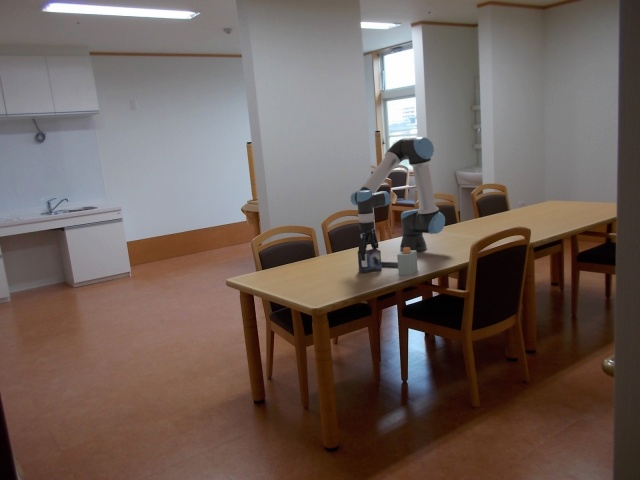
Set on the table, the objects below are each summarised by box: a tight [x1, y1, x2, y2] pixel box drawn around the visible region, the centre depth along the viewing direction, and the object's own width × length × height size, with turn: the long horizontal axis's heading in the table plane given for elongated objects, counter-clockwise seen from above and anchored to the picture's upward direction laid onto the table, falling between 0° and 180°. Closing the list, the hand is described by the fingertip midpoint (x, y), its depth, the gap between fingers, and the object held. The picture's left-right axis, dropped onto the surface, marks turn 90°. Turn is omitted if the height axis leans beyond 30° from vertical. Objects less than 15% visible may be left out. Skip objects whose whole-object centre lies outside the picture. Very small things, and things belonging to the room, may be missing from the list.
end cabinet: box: [396, 250, 419, 276], centre depth 266 cm, size 10×6×10 cm, turn 149°
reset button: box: [402, 247, 411, 254], centre depth 265 cm, size 4×4×5 cm
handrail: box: [381, 260, 398, 268], centre depth 283 cm, size 2×23×3 cm, turn 59°
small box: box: [357, 248, 383, 274], centre depth 277 cm, size 11×6×10 cm, turn 105°
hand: (369, 263), depth 277 cm, fingers closed on small box, 11 cm apart
